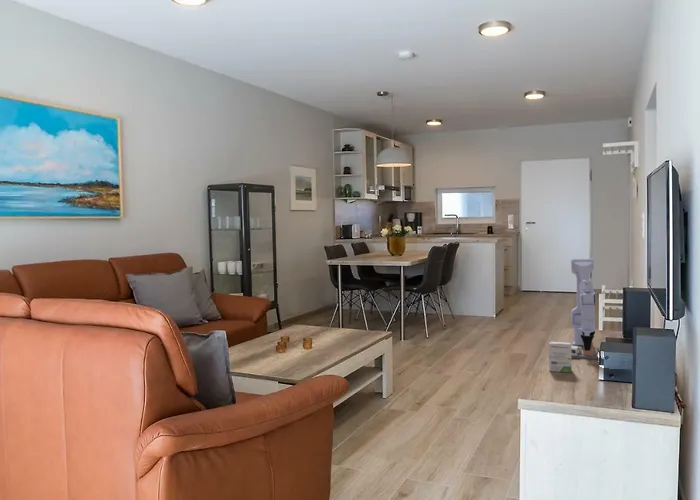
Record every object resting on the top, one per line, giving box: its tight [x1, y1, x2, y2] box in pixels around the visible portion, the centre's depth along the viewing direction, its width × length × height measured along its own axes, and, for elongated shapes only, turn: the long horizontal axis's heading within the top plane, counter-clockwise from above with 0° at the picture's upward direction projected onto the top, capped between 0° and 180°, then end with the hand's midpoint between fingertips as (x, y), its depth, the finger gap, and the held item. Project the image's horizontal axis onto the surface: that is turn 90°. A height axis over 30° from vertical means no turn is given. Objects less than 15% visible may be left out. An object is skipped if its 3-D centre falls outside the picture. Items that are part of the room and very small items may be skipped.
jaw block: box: [582, 342, 594, 355], centre depth 266 cm, size 4×4×5 cm
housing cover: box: [571, 344, 579, 355], centre depth 268 cm, size 6×5×3 cm
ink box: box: [548, 341, 573, 374], centre depth 243 cm, size 8×5×12 cm, turn 65°
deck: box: [571, 346, 599, 360], centre depth 269 cm, size 14×14×4 cm
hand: (588, 348), depth 266 cm, fingers open, 7 cm apart
